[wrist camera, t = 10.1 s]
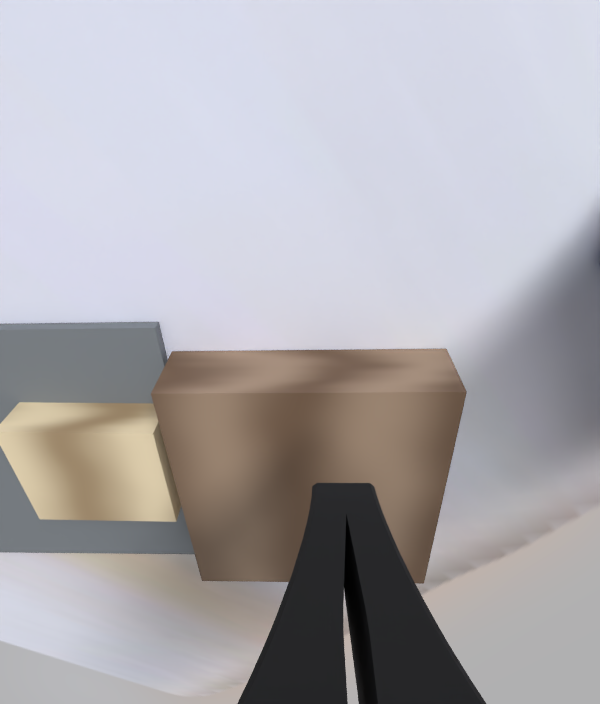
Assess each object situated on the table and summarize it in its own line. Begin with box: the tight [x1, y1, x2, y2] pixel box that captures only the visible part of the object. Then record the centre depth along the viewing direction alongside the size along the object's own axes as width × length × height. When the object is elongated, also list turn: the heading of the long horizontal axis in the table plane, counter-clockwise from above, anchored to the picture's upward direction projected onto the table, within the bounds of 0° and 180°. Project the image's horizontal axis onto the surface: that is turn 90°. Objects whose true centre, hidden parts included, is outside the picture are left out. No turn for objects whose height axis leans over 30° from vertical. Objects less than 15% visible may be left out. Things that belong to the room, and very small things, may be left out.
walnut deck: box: [151, 349, 466, 583], centre depth 21 cm, size 12×13×3 cm
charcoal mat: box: [0, 322, 195, 554], centre depth 23 cm, size 16×16×1 cm
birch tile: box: [0, 402, 181, 522], centre depth 21 cm, size 7×6×2 cm
